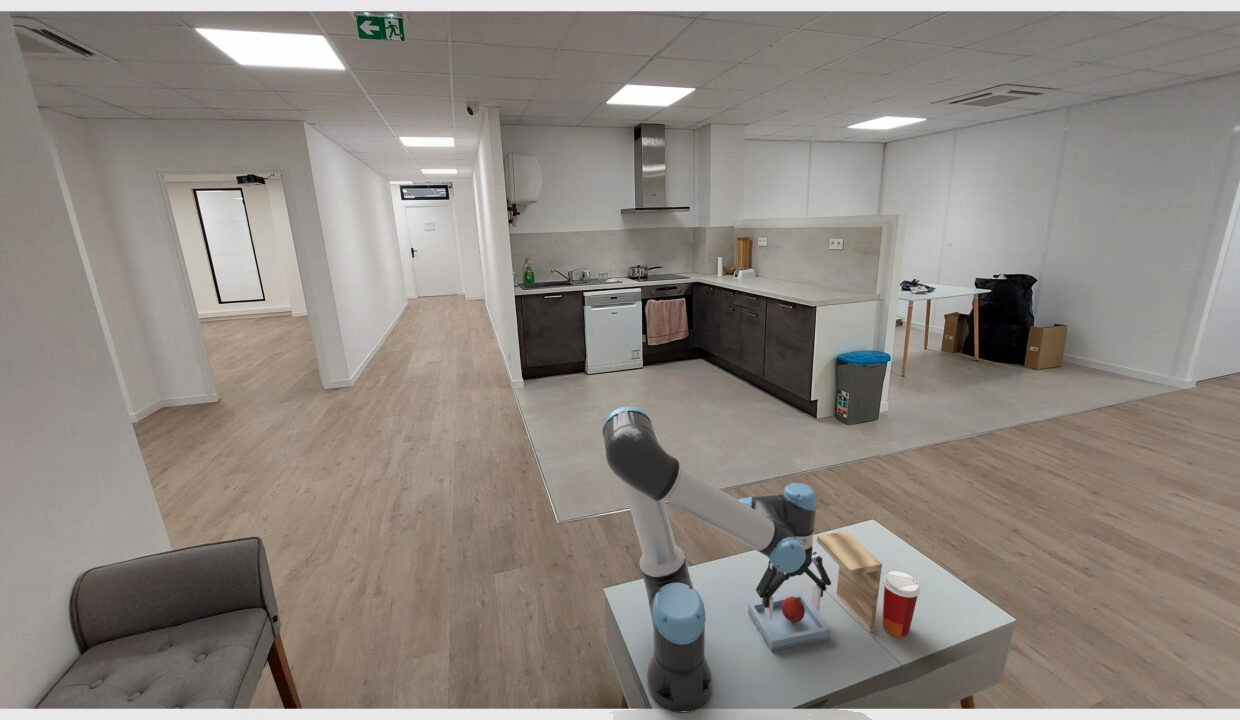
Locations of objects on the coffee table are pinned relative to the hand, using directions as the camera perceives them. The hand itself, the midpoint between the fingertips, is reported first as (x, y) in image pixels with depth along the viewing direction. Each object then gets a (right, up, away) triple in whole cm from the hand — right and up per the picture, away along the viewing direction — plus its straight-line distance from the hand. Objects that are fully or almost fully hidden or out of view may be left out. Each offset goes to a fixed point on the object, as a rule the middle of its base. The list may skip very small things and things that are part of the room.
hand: (791, 611), depth 129 cm
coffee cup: (+27, -4, -1) cm, 27 cm away
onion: (0, -3, +1) cm, 4 cm away
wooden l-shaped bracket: (+15, -3, +4) cm, 16 cm away
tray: (-1, -4, +1) cm, 4 cm away
